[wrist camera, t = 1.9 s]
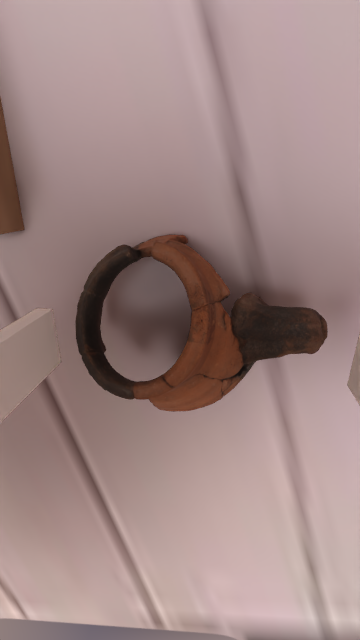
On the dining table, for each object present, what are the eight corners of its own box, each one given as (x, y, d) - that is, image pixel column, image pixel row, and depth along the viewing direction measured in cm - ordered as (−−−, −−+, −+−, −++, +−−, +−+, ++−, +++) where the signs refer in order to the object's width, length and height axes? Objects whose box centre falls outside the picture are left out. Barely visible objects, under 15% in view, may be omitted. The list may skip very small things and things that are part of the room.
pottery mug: (155, 395, 23) (65, 423, 15) (146, 268, 24) (57, 239, 16) (338, 395, 17) (334, 440, 10) (318, 229, 18) (300, 158, 11)
